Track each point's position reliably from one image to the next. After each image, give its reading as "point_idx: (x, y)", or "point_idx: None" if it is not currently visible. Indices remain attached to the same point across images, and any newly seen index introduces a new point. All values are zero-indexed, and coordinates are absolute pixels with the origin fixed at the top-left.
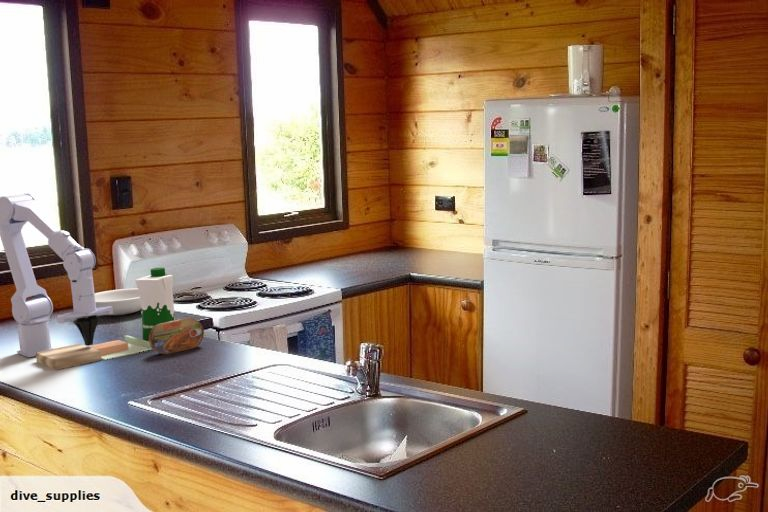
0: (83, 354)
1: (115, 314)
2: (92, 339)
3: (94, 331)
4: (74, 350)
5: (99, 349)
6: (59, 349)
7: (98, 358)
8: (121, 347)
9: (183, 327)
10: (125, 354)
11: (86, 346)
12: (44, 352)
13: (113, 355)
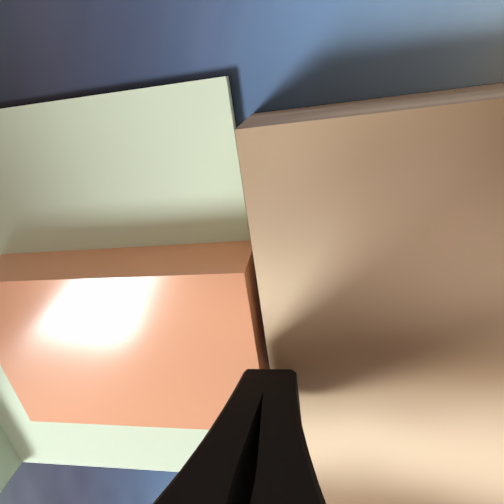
0: (473, 105)
1: None
2: (235, 402)
3: (174, 483)
4: (429, 374)
5: (213, 271)
6: (491, 495)
7: (279, 114)
8: (31, 265)
9: None
10: (28, 108)
11: None
12: None
13: (128, 162)
